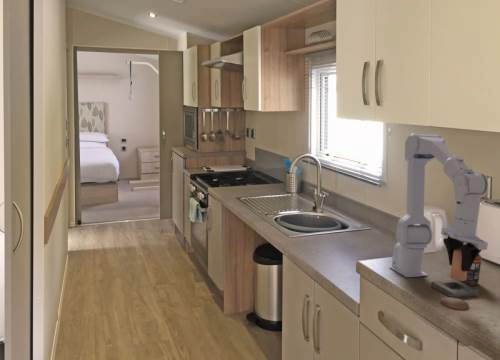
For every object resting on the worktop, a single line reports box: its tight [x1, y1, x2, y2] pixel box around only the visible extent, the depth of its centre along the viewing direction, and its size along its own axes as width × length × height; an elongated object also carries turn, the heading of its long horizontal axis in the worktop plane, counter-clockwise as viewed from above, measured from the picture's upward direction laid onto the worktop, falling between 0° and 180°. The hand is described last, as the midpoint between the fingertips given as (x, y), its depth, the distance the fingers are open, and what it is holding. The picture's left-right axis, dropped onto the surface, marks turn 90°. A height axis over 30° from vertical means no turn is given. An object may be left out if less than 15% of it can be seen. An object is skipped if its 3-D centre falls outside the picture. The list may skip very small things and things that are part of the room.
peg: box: [449, 249, 467, 281], centre depth 134 cm, size 4×4×8 cm
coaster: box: [440, 296, 469, 311], centre depth 136 cm, size 7×7×1 cm
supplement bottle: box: [460, 253, 482, 286], centre depth 153 cm, size 6×6×11 cm
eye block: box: [430, 279, 480, 299], centre depth 146 cm, size 9×9×2 cm
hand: (459, 267), depth 134 cm, fingers closed on peg, 4 cm apart
